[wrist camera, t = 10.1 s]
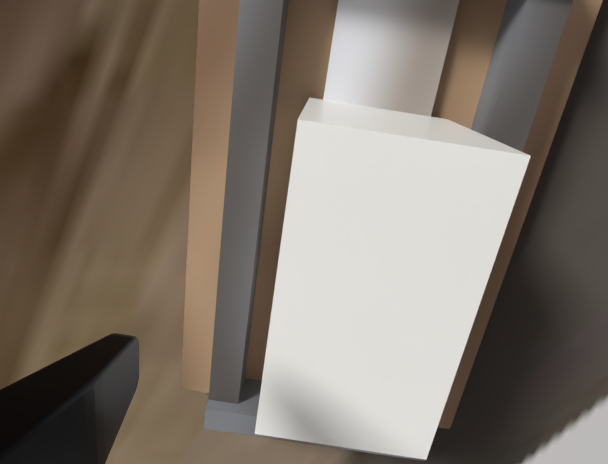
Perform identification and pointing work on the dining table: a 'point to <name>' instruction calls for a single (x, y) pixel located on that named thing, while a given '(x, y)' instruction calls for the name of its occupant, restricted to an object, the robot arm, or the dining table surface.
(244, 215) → the rail mount
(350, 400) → the block
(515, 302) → the dining table surface
